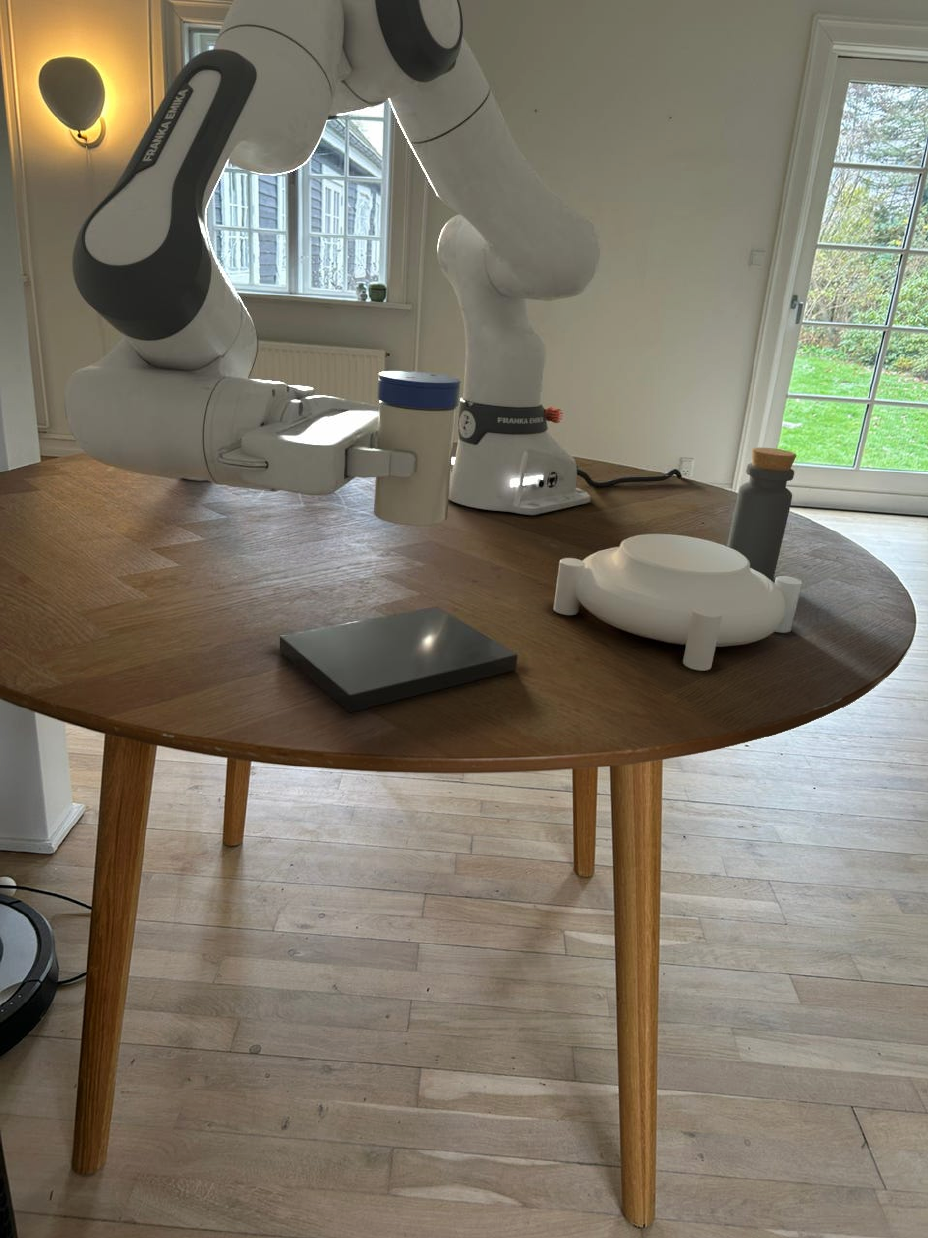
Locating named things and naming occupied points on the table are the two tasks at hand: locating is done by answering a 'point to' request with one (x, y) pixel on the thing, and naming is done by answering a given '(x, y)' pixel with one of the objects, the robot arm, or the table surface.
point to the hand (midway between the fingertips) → (425, 456)
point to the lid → (418, 389)
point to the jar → (429, 485)
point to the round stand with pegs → (679, 594)
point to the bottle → (763, 509)
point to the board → (395, 657)
